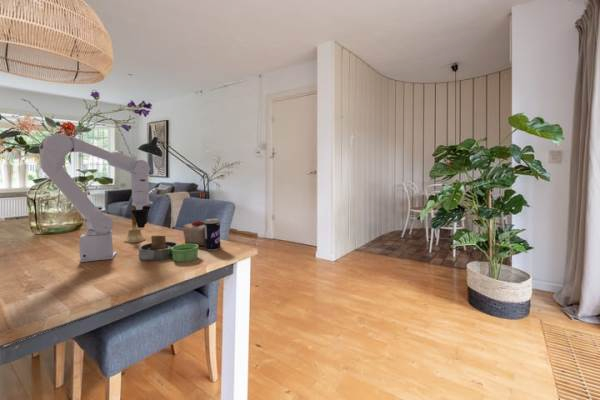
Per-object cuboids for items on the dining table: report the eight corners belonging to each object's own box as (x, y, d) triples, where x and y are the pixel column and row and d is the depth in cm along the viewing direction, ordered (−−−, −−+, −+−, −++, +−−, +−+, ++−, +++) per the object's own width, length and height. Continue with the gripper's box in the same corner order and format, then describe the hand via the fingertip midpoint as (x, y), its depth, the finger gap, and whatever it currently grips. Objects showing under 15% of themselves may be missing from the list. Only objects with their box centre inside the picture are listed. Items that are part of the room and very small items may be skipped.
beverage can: (211, 252, 111) (210, 221, 110) (202, 249, 114) (201, 219, 113) (223, 249, 116) (222, 219, 114) (214, 246, 119) (213, 217, 118)
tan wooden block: (152, 254, 106) (151, 236, 105) (152, 253, 107) (151, 235, 107) (166, 252, 107) (165, 235, 107) (166, 251, 109) (165, 234, 108)
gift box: (180, 244, 124) (179, 221, 123) (195, 240, 131) (194, 218, 130) (204, 248, 117) (203, 224, 116) (218, 243, 124) (217, 220, 123)
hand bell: (136, 237, 135) (133, 203, 133) (149, 239, 132) (147, 204, 130) (119, 242, 127) (117, 205, 125) (133, 243, 124) (131, 206, 123)
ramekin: (178, 264, 97) (178, 251, 96) (167, 259, 103) (166, 247, 103) (203, 258, 104) (203, 246, 103) (191, 253, 110) (190, 242, 109)
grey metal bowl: (137, 262, 99) (136, 252, 99) (141, 252, 111) (140, 243, 110) (179, 257, 104) (178, 248, 104) (178, 248, 116) (178, 240, 116)
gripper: (150, 192, 108) (152, 228, 109) (153, 189, 121) (155, 222, 123) (128, 192, 105) (130, 229, 107) (134, 190, 119) (136, 223, 120)
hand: (142, 225), depth 114 cm, fingers open, 7 cm apart
